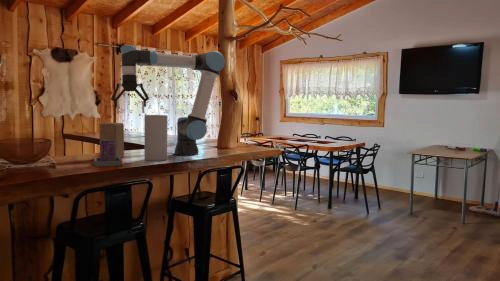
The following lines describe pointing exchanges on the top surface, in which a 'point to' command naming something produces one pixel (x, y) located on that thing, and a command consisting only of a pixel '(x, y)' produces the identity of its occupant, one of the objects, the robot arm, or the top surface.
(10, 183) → the top surface
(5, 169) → the top surface
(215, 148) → the top surface
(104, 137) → the wooden block
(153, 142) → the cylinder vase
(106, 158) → the beverage can
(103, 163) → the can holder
